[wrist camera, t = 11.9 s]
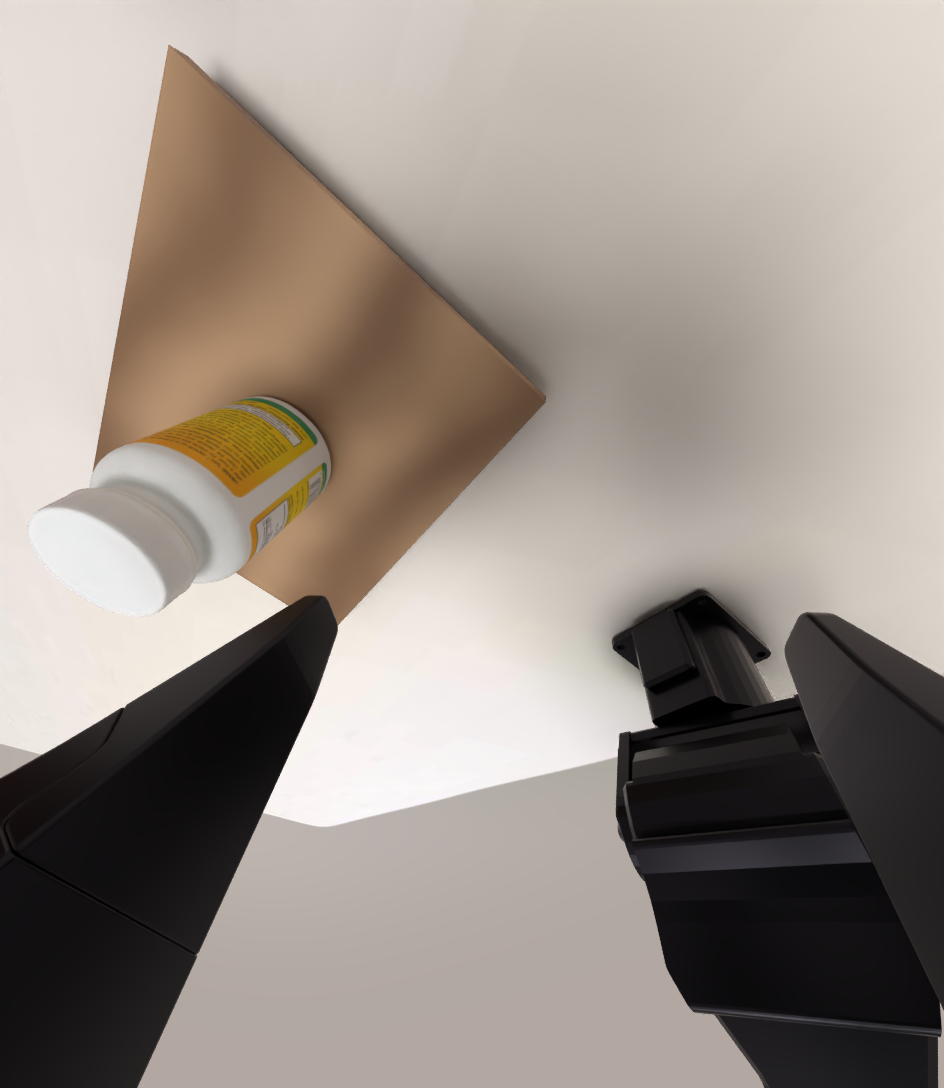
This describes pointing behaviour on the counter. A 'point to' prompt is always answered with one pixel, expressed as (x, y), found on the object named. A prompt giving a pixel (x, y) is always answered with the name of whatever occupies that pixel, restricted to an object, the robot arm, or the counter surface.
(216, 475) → the supplement bottle
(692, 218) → the counter surface
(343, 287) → the peg shelf
